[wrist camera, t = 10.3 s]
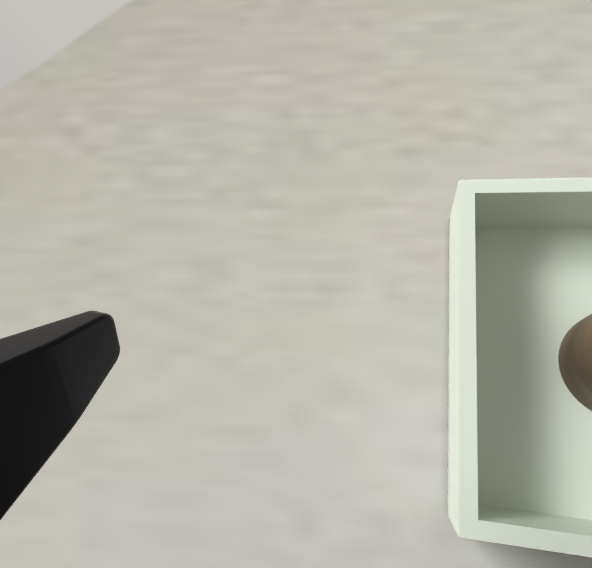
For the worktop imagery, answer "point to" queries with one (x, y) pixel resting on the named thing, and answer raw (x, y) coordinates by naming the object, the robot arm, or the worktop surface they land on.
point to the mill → (578, 361)
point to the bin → (518, 363)
